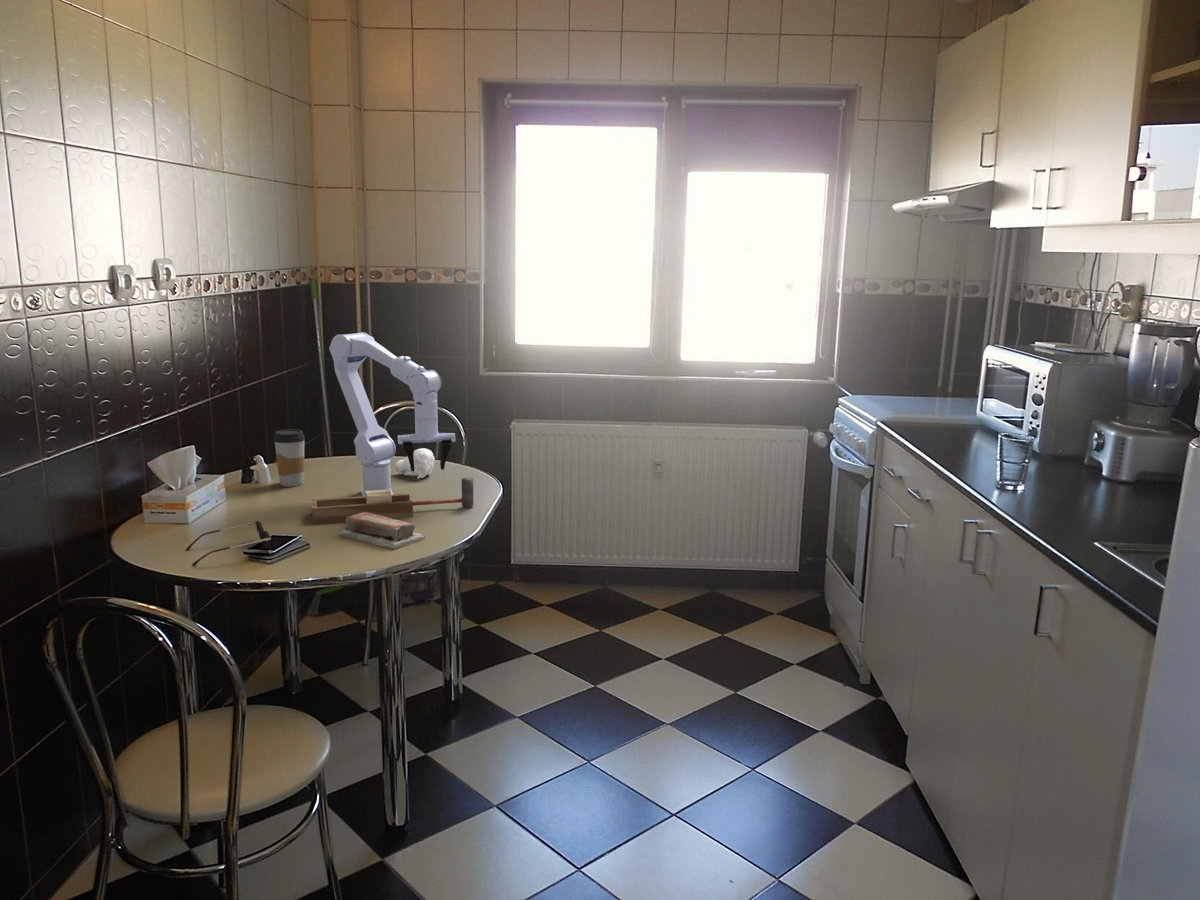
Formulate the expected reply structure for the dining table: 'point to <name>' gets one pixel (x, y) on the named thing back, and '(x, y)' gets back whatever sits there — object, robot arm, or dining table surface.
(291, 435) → the coffee cup
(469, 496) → the grey and red rod
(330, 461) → the dining table surface
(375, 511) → the lane tray
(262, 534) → the sunglasses
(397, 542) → the packaged product
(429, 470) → the white animal figurine
